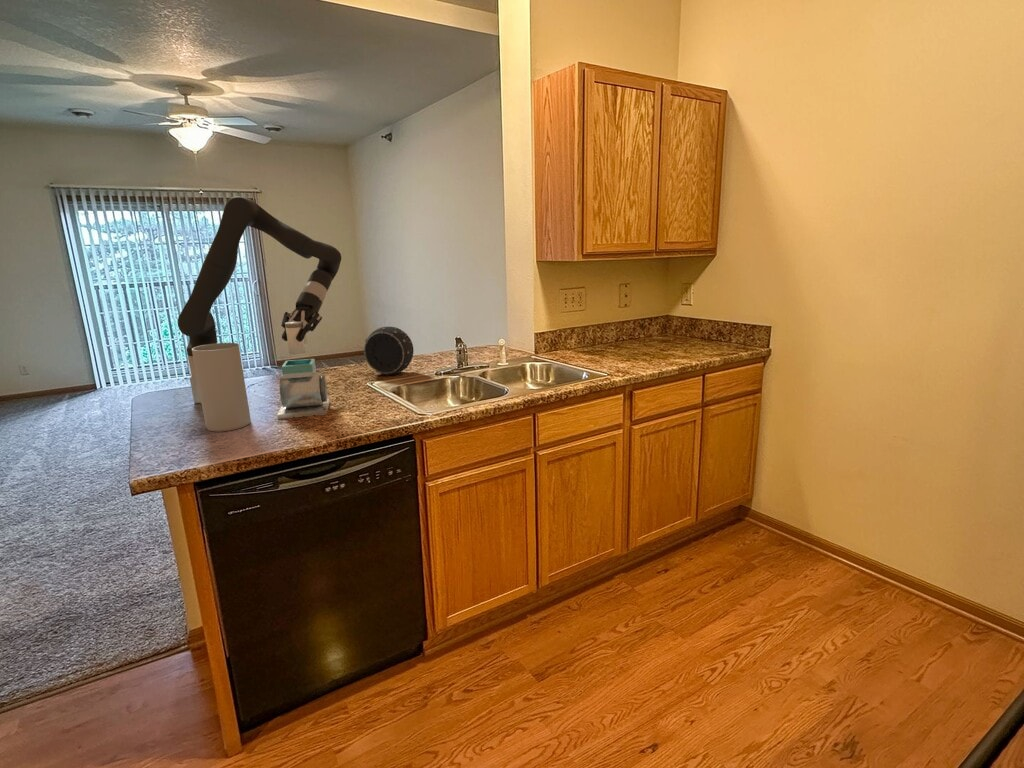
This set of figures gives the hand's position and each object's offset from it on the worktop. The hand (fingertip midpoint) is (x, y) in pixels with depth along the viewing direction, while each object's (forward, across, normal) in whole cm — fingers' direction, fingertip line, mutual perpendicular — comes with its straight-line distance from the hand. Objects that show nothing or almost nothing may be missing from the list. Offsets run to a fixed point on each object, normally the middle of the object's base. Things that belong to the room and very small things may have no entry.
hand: (291, 339), depth 174 cm
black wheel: (-21, +1, +56) cm, 60 cm away
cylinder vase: (+30, -13, +5) cm, 33 cm away
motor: (+16, 0, +18) cm, 24 cm away
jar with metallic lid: (+2, 0, +5) cm, 5 cm away
